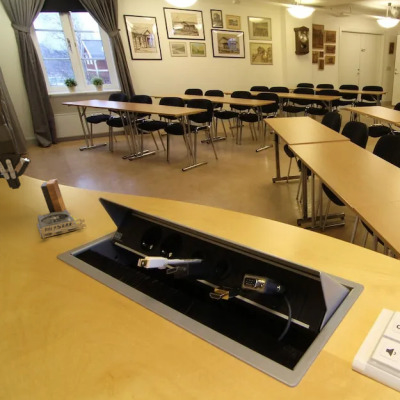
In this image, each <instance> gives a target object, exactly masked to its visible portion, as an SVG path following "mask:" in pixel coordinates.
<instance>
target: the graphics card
mask: <svg viewBox="0 0 400 400" xmlns="http://www.w3.org/2000/svg"><path fill="white" fill-rule="evenodd" d="M37 222H38V223H36V225H37V229H38V232H39V235H40V238H42V240H43V241H44V239H45V238H49V237H52V236H57V235H60V234H65V233H70V232H73V231H77V230H82V229H84V228H85V227H87V224H86V223H85V222H86V221H85V218H83V219H82V218H79V219H77V218H76V217H75V216H74V215H71V214H70V212H69V211H68V210H67V209H66V210H64V211H61V212H53V213H50V212H49V213H46V214H43V215H41V214H38V215H37Z"/></svg>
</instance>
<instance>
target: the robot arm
mask: <svg viewBox="0 0 400 400" xmlns="http://www.w3.org/2000/svg"><path fill="white" fill-rule="evenodd" d="M19 163H20V165H21V167H20V169H19V170H18V166H19ZM30 164H31V159H29V158H28V159H27V158H24V157H22V155H21V154H19V152H18V150H17V147H16V144H15V141H14V138H13V135H12V133H11V131H10V128H9V126H8V125H7V122H6V119H5V117H4V114H3V112H2V89H1V88H0V179H5V180H6V182H7V185H8V187H9V188H10V189H12V190H19V188H20V187H21V185H22V183H21V180H20V178H19V177H22V176H23V175H24V174H25V172H26V171H27V169H28V167H29V166H30Z"/></svg>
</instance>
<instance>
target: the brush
mask: <svg viewBox="0 0 400 400" xmlns="http://www.w3.org/2000/svg"><path fill="white" fill-rule="evenodd" d="M40 189H41V192H42V195H43V197H44V201H45V204H46V206H47V209H48V212H49V213H53V212H61V211H64V210H67V207H66V204H65V201H64V198H63V195H62V192H61V189H60V186H59V183H58V179H57V178H54V179H53V178H52V179H49V180H48V181H45V182H43V183H42V184H41V186H40Z"/></svg>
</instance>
